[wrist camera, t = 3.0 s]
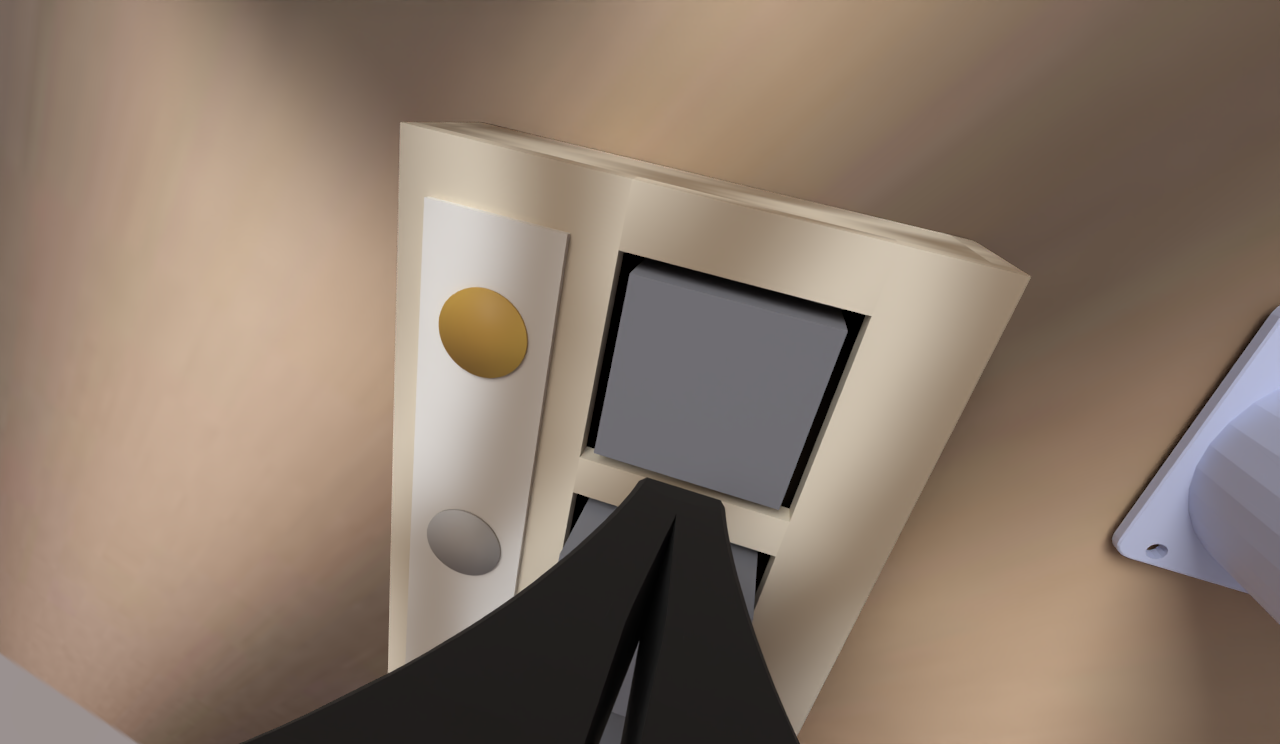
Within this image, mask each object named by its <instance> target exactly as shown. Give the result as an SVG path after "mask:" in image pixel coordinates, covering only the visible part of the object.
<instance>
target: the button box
mask: <svg viewBox="0 0 1280 744" xmlns="http://www.w3.org/2000/svg"><path fill="white" fill-rule="evenodd" d="M624 252H627V253H631V254H635V255H639V256H643V257H647V258H650V259H654V260H658V261H662V262H666V263H670V264H673V265H677V266H681V267H685V268H689V269H692V270H696V271H700V272H704V273H708V274H712V275H715V276H719V277H723V278H727V279H731V280H734V281H738V282H742V283H746V284H750V285H754V286H757V287H761V288H765V289H769V290H773V291H777V292H780V293H784V294H788V295H792V296H796V297H799V298H803V299H807V300H811V301H815V302H819V303H822V304H826V305H830V306H834V307H838V308H842V309H845V310H849V311H853V312H857V313H861V314H864V315H865V318H864V321H863V323H862V326H861V328H860V331H859V333H858V336H857V338H856V341H855V343H854V346H853V348H852V351H851V354H850V356H849V359H848V361H847V364H846V366H845V369H844V371H843V374H842V376H841V379H840V381H839V384H838V387H837V389H836V392H835V394H834V397H833V399H832V402H831V404H830V407H829V409H828V412H827V414H826V417H825V420H824V422H823V425H822V427H821V430H820V432H819V435H818V437H817V440H816V442H815V445H814V447H813V450H812V453H811V455H810V458H809V460H808V463H807V465H806V468H805V470H804V473H803V475H802V478H801V480H800V483H799V486H798V488H797V491H796V493H795V496H794V498H793V501H792V503H791V506H790V508H786V507H783V506H780V509H779V510H777V509H774V508H771V507H767V506H764V505H761V504H758V503H754V502H751V501H748V500H745V499H741V498H738V497H735V496H732V495H728V494H725V493H722V492H719V491H715V490H712V489H709V488H706V487H702V486H699V485H696V484H693V483H689V482H686V481H683V480H680V479H676V478H673V477H670V476H667V475H663V474H660V473H657V472H654V471H650V470H647V469H644V468H641V467H638V466H634V465H631V464H628V463H625V462H621V461H618V460H615V459H612V458H608V457H605V456H602V455H599V454H595V453H594V448H591V447H587V441H588V435H589V430H590V425H591V420H592V415H593V409H594V404H595V399H596V394H597V389H598V383H599V378H600V373H601V368H602V363H603V357H604V352H605V347H606V342H607V337H608V332H609V326H610V321H611V316H612V311H613V306H614V300H615V295H616V290H617V285H618V280H619V274H620V269H621V264H622V259H623V254H624ZM1030 278H1031V276H1029V275H1028V274H1026V273H1024V272H1023V271H1021V270H1020V269H1018V268H1016V267H1015V266H1013V265H1012V264H1010V263H1008V262H1007V261H1005V260H1004V259H1002V258H1000V257H999V256H997V255H996V254H994V253H992V252H991V251H989V250H988V249H986V248H984V247H983V246H981V245H980V244H978V243H976V242H975V241H973V240H969V239H964V238H960V237H956V236H952V235H948V234H944V233H940V232H935V231H931V230H927V229H923V228H919V227H915V226H910V225H906V224H902V223H898V222H894V221H890V220H886V219H881V218H877V217H873V216H869V215H865V214H861V213H856V212H852V211H848V210H844V209H840V208H836V207H832V206H827V205H823V204H819V203H815V202H811V201H807V200H802V199H798V198H794V197H790V196H786V195H782V194H778V193H773V192H769V191H765V190H761V189H757V188H753V187H748V186H744V185H740V184H736V183H732V182H728V181H724V180H719V179H715V178H711V177H707V176H703V175H699V174H694V173H690V172H686V171H682V170H678V169H674V168H669V167H665V166H661V165H657V164H653V163H649V162H645V161H640V160H636V159H632V158H628V157H624V156H620V155H615V154H611V153H607V152H603V151H599V150H595V149H591V148H586V147H582V146H578V145H574V144H570V143H566V142H561V141H557V140H553V139H549V138H545V137H541V136H537V135H532V134H528V133H524V132H520V131H516V130H512V129H507V128H503V127H499V126H495V125H491V124H487V123H483V122H400V146H399V192H398V239H397V285H396V331H395V377H394V423H393V469H392V515H391V561H390V607H389V653H388V673H390V672H392V671H394V670H395V669H397V668H399V667H401V666H403V665H405V664H406V663H408V662H410V661H412V660H414V659H415V658H417V657H419V656H421V655H422V654H424V653H426V652H428V651H429V650H431V649H433V648H434V647H436V646H438V645H439V644H441V643H443V642H444V641H446V640H448V639H449V638H451V637H453V636H454V635H456V634H457V633H459V632H461V631H462V630H464V629H466V628H467V627H469V626H471V625H472V624H474V623H475V622H477V621H478V620H480V619H481V618H483V617H484V616H486V615H487V614H489V613H490V612H492V611H493V610H495V609H496V608H498V607H499V606H501V605H502V604H504V603H505V602H507V601H508V600H509V599H511V598H512V597H514V596H515V595H516V594H518V593H519V592H520V591H522V590H523V589H525V588H526V587H527V586H529V585H530V584H531V583H533V582H534V581H535V580H536V579H538V578H539V577H540V576H541V575H543V574H544V573H545V572H546V571H548V570H549V569H550V568H551V567H553V566H554V565H555V564H556V563H558V560H559V555H560V553H561V551H562V549H563V547H564V545H565V543H566V541H567V539H568V538H569V534H570V529H571V524H572V518H573V513H574V508H575V503H576V498H577V494H580V495H583V496H587V497H590V498H593V499H596V500H599V501H602V502H605V503H609V504H612V505H615V506H619V505H620V504H621V503H622V502H623V501H624V499H625V498H626V497H627V496H628V495H629V494H630V492H631V491H632V490H633V489H634V487H635V486H636V484H637V483H638V481H640V480H642V479H644V478H647V477H648V478H651V479H654V480H658V481H661V482H664V483H667V484H670V485H674V486H677V487H680V488H683V489H686V490H690V491H693V492H696V493H699V494H702V495H706V496H709V497H712V498H715V499H719V500H721V502H722V503H723V505H724V507H725V512H726V521H727V528H728V534H729V540H730V542H731V543H734V544H737V545H741V546H744V547H747V548H750V549H753V550H756V551H759V552H763V553H766V554H769V555H771V557H770V559H769V562H768V564H767V567H766V569H765V572H764V574H763V577H762V580H761V582H760V585H759V587H758V590H757V592H756V595H755V601H754V616H753V621H752V625H753V628H754V631H755V634H756V637H757V640H758V642H759V645H760V648H761V651H762V653H763V656H764V659H765V662H766V664H767V667H768V670H769V672H770V675H771V677H772V680H773V683H774V685H775V688H776V690H777V693H778V695H779V697H780V700H781V702H782V705H783V707H784V709H785V712H786V714H787V716H788V718H789V720H790V723H791V725H792V727H793V729H794V732H795V734H796V736H797V735H798V733H799V731H800V729H801V727H802V726H803V724H804V722H805V720H806V718H807V716H808V714H809V712H810V710H811V708H812V706H813V704H814V702H815V700H816V698H817V696H818V694H819V692H820V690H821V688H822V686H823V684H824V682H825V680H826V678H827V676H828V674H829V673H830V671H831V669H832V667H833V665H834V663H835V661H836V659H837V657H838V655H839V653H840V651H841V649H842V647H843V645H844V643H845V641H846V639H847V637H848V635H849V633H850V631H851V629H852V627H853V625H854V623H855V621H856V620H857V618H858V616H859V614H860V612H861V610H862V608H863V606H864V604H865V602H866V600H867V598H868V596H869V594H870V592H871V590H872V588H873V586H874V584H875V582H876V580H877V578H878V576H879V574H880V572H881V570H882V568H883V567H884V565H885V563H886V561H887V559H888V557H889V555H890V553H891V551H892V549H893V547H894V545H895V543H896V541H897V539H898V537H899V535H900V533H901V531H902V529H903V527H904V525H905V523H906V521H907V519H908V517H909V515H910V514H911V512H912V510H913V508H914V506H915V504H916V502H917V500H918V498H919V496H920V494H921V492H922V490H923V488H924V486H925V484H926V482H927V480H928V478H929V476H930V474H931V472H932V470H933V468H934V466H935V464H936V462H937V461H938V459H939V457H940V455H941V453H942V451H943V449H944V447H945V445H946V443H947V441H948V439H949V437H950V435H951V433H952V431H953V429H954V427H955V425H956V423H957V421H958V419H959V417H960V415H961V413H962V411H963V409H964V408H965V406H966V404H967V402H968V400H969V398H970V396H971V394H972V392H973V390H974V388H975V386H976V384H977V382H978V380H979V378H980V376H981V374H982V372H983V370H984V368H985V366H986V364H987V362H988V360H989V358H990V356H991V355H992V353H993V351H994V349H995V347H996V345H997V343H998V341H999V339H1000V337H1001V335H1002V333H1003V331H1004V329H1005V327H1006V325H1007V323H1008V321H1009V319H1010V317H1011V315H1012V313H1013V311H1014V309H1015V307H1016V305H1017V303H1018V302H1019V300H1020V298H1021V296H1022V294H1023V292H1024V290H1025V288H1026V286H1027V284H1028V282H1029V280H1030Z"/></svg>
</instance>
